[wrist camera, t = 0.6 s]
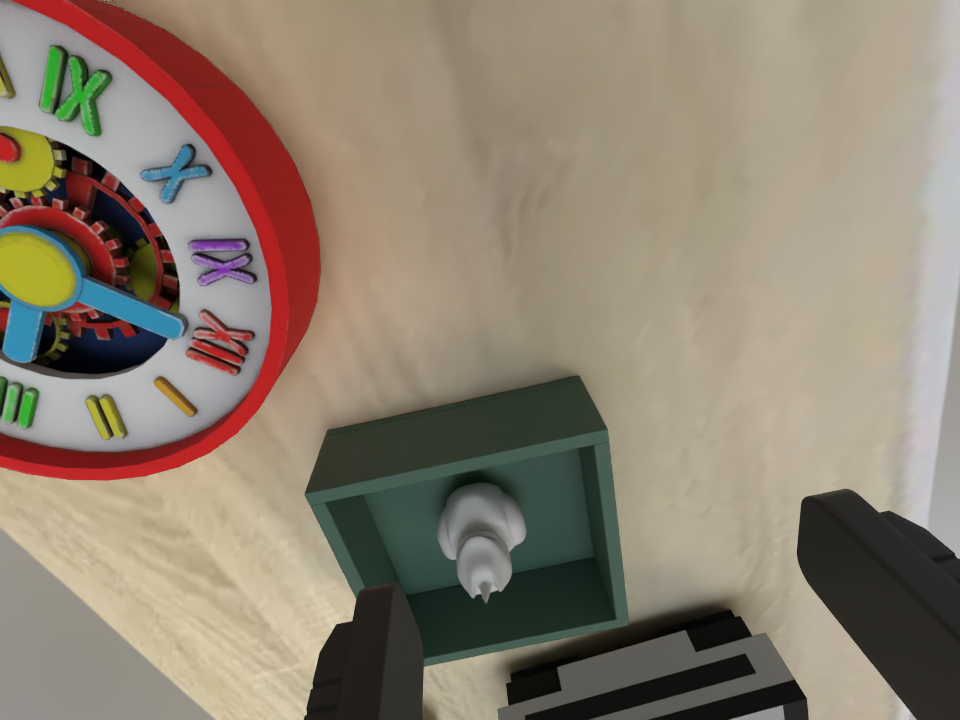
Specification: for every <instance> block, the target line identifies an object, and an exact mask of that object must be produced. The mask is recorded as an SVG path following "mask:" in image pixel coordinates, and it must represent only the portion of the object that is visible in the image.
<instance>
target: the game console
mask: <svg viewBox="0 0 960 720" xmlns="http://www.w3.org/2000/svg"><path fill="white" fill-rule="evenodd" d="M660 633H661V636H662V637H660V638H656V639H653V640H649V641H646V642H642V643H639V644H636V645H632V646H629V647H625V648H622V649H618V650H615V651H611V652H608V653H605V654H601V655H598V656H594V657H591V658H587V659H584V660H580V659H579V657H578V655H574V656H570V657H567V658H563V659H560V660H557V661H553V662H550V663H546V664H543V665H539V666H536V667H533V668H529V669H526V670H522V671H519V672H515V673H512V674H511V681H512V682H510V683H507V684H506V688H507V696H508V705H509V706H506V707H503V708H499V709H498V718H499V720H809V718H808V707H807V698H806V697H805V695H804V693H803V692H802V690H801V689H800V687H799V685H798V684H797V682H796V681H795V679H794V677H793V676H792V674H791V673H790V671H789V669H788V668H787V666H786V665H785V663H784V661H783V660H782V658H781V656H780V655H779V653H778V652H777V650H776V648H775V647H774V645H773V644H772V642H771V640H770V639H769V637H768V636H767V634H766V633H763V634H759V635H756V636H752V635H751V633H750V631H749V630H748V628H747V626H746V625H745V623H744V621H743V620H742V618H741V616H738V617H735V616H734V614H733V613H732V611H731V610H728V611H725V612H721V613H718V614H714V615H711V616H708V617H704V618H701V619H697V620H694V621H690V622H687V623H684V624H680V625H677V626H673V627H670V628H666V629H663V630H660Z"/></svg>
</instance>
